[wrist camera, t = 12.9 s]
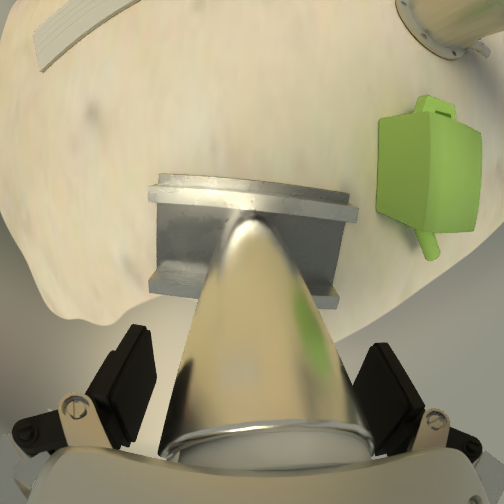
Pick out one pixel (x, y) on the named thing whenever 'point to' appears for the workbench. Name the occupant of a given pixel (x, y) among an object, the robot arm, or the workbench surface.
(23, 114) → the workbench surface
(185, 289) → the floor track
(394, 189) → the lime handled box
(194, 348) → the tan metal cylinder
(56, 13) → the baseboard
